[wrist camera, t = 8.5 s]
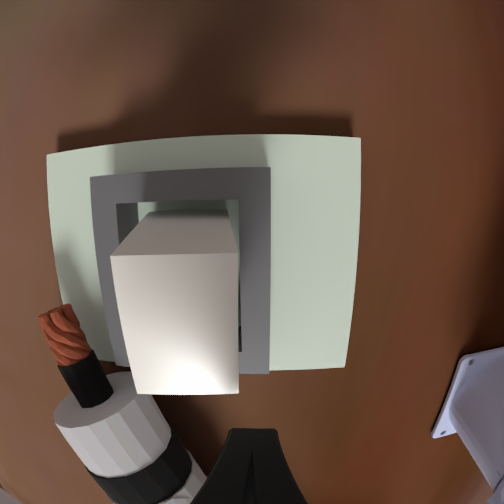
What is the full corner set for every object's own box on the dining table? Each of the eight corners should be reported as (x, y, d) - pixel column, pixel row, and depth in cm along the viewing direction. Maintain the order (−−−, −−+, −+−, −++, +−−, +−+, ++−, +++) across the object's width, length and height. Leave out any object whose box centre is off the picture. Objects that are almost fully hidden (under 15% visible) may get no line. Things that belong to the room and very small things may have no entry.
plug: (227, 209, 14) (237, 252, 9) (228, 309, 16) (238, 393, 10) (149, 211, 14) (109, 256, 8) (158, 311, 15) (137, 393, 10)
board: (353, 140, 15) (379, 132, 11) (340, 355, 18) (355, 394, 14) (58, 155, 15) (18, 154, 12) (84, 347, 18) (56, 378, 14)
